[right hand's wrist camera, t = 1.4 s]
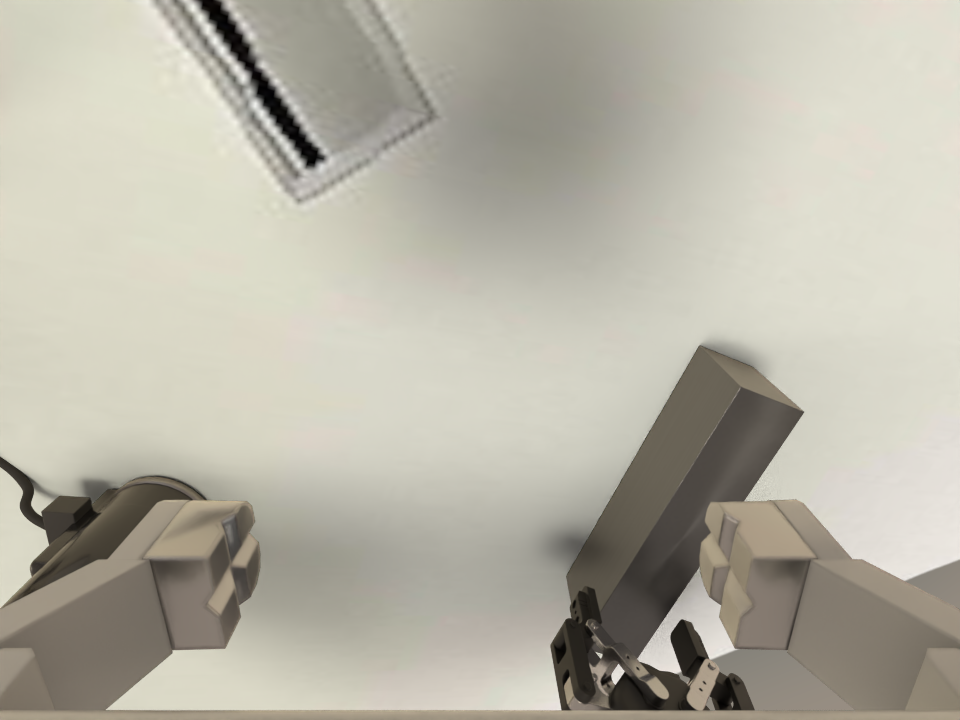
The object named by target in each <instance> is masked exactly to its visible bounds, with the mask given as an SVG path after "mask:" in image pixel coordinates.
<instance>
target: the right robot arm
mask: <svg viewBox="0 0 960 720" xmlns="http://www.w3.org/2000/svg"><path fill="white" fill-rule="evenodd" d="M254 523H255V518H254V513H253V508H252V505H251V504H249V503H248V502H247V501H213V500H192V501H190V500H164V501H160V502H157V503H156V505H155V506H154V507H153V508H152V509H151V510H150V511H149V512H148V514H147V515H146V516H145V517H144V518H143V519H142V520H141V522H140V523H139V524H138V525H137V526H136V527H135V528H134V530H133V531H132V532H131V533H130V534H129V535H128V536H127V538H126V539H125V540H124V541H123V542H122V543H121V544H120V546H119V547H118V548H117V549H116V550H115V551H114V552H113V553H112V555H111V556H110V557H109V558H108V559H104V560H96V561H94V562H92V563H90V564H88V565H86V566H84V567H82V568H80V569H78V570H76V571H74V572H72V573H70V574H68V575H66V576H64V577H63V578H61V579H59V580H57V581H55V582H53V583H51V584H49V585H47V586H45V587H43V588H41V589H39V590H37V591H35V592H33V593H31V594H29V595H27V596H25V597H23V598H21V599H19V600H17V601H15V602H13V603H11V604H9V605H7V606H5V607H3V608H1V609H0V720H960V609H958V608H956V607H954V606H952V605H951V604H948V603H947V602H945V601H943V600H941V599H939V598H937V597H935V596H933V595H931V594H929V593H927V592H925V591H923V590H921V589H919V588H917V587H915V586H913V585H911V584H909V583H907V582H905V581H903V580H901V579H899V578H897V577H895V576H893V575H891V574H889V573H888V572H886V571H884V570H882V569H880V568H878V567H876V566H874V565H872V564H870V563H868V562H866V561H864V560H856V559H852V558H851V557H850V556H849V555H848V554H847V552H846V551H845V550H844V549H843V548H842V547H841V546H840V544H839V543H838V542H837V541H836V540H835V539H834V538H833V536H832V535H831V534H830V533H829V532H828V531H827V530H826V528H825V527H824V526H823V525H822V524H821V523H820V522H819V520H818V519H817V518H816V517H815V516H814V515H813V514H812V513H811V511H810V510H809V509H808V508H807V507H806V506H805V505H804V503H802V502H800V501H798V500H768V501H742V502H710V504H709V506H708V508H707V512H706V517H705V523H706V525H707V526H708V528H709V530H710V532H711V533H710V534H709V535H708V536H707V537H706V538H705V539H704V540H703V541H702V542H701V548H700V556H699V561H700V573H701V577H702V581H703V584H704V587H705V589H706V591H707V593H708V595H709V597H710V598H712V599H713V600H714V601H716V602H717V603H719V604H720V605H721V609H720V614H719V618H720V620H721V622H722V624H723V626H724V628H725V630H726V632H727V634H728V636H729V638H730V640H731V642H732V644H733V646H734V648H735V649H766V650H788V652H787V653H788V654H790V655H791V656H792V657H793V658H794V659H795V660H797V661H798V662H799V663H800V664H801V665H803V666H804V667H805V668H806V669H807V670H808V671H810V672H811V673H812V674H813V675H814V676H816V677H817V678H818V679H819V680H820V681H821V682H823V683H824V684H825V685H826V686H827V687H828V688H830V689H831V690H832V691H833V692H834V693H836V694H837V695H838V696H839V697H840V698H841V699H843V700H844V701H845V702H846V703H847V704H849V705H850V706H851V707H852V708H853V709H854V710H769V711H768V710H714V711H711V710H696V711H575V710H169V711H162V710H106V709H107V708H108V707H109V706H110V705H112V704H113V703H114V702H115V701H116V700H117V699H119V698H120V697H121V696H122V695H123V694H125V693H126V692H127V691H128V690H129V689H131V688H132V687H133V686H134V685H135V684H136V683H138V682H139V681H140V680H141V679H142V678H144V677H145V676H146V675H147V674H148V673H149V672H151V671H152V670H153V669H154V668H155V667H157V666H158V665H159V664H160V663H161V662H162V661H164V660H165V659H166V658H167V657H168V656H170V655H171V654H172V650H194V649H225V648H226V646H227V644H228V642H229V640H230V638H231V636H232V634H233V632H234V630H235V628H236V626H237V624H238V622H239V620H240V618H241V615H240V609H239V605H240V604H241V603H243V602H244V601H246V600H247V599H248V598H250V597H251V595H252V593H253V591H254V589H255V587H256V584H257V581H258V576H259V571H260V547H259V542H258V541H257V540H256V539H255V538H254V537H253V536H252V535H251V534H250V533H249V532H250V530H251V528H252V526H253V525H254Z"/></svg>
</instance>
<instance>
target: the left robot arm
mask: <svg viewBox="0 0 960 720" xmlns="http://www.w3.org/2000/svg"><path fill="white" fill-rule="evenodd" d="M0 467H1V468H2V469H4V470H5V471H6V472H7V473H9V474H10V475H11V476H12V477H13V478H14V479H15V480H16V482H17V483H18V484H19V485H20V487H21V488H22V490H23V496H22V499H21V502H20V509H21V511H22V513H23V515H24V516H25V517H26V518H27V519H28V520H29V521H30V522H32V523H33V524H35V525H37V526H39V527H40V528H42V529H44V530H46V534H47V538H48V542H49V546H48V547H47V548H46V549H45V550H44V551H43V552H42V553H41V554H40V555H39V556H38V557H37V558H36V559H35V560H34V561H33V562H32V563H31V565H30V572H31V576H32V578H30V579H29V580H28V581H27V582H26V583H25V584H24V585H23V586H22V587H21V588H20V589H19V590H18V591H17V592H16V593H15V594H14V595H13V596H12V597H11V598H10V599H9V600H8V601H7V602H6V603H5V604H4V605H3V606H2V607H1V608H3V607H5V606H7V605H9V604H11V603H13V602H15V601H17V600H19V599H21V598H23V597H25V596H27V595H29V594H31V593H33V592H35V591H37V590H39V589H41V588H43V587H45V586H47V585H49V584H51V583H53V582H55V581H57V580H59V579H61V578H63V577H64V576H66V575H68V574H70V573H72V572H74V571H76V570H78V569H80V568H82V567H84V566H86V565H88V564H90V563H92V562H94V561H96V560H104V559H108V558H109V557H110V556H111V555H112V553H113V552H114V551H115V550H116V549H117V548H118V547H119V546H120V544H121V543H122V542H123V541H124V540H125V539H126V538H127V536H128V535H129V534H130V533H131V532H132V531H133V530H134V528H135V527H136V526H137V525H138V524H139V523H140V522H141V520H142V519H143V518H144V517H145V516H146V515H147V514H148V512H149V511H150V510H151V509H152V508H153V507H154V506H155V505H156V503H157V502H160V501H164V500H190V501H192V500H204V499H203V498H202V497H201V496H200V495H199V494H198V493H197V492H195V491H194V490H193V489H191V488H190V487H188V486H186V485H184V484H182V483H180V482H177V481H174V480H171V479H167V478H162V477H144V478H139V479H135V480H133V481H130V482H128V483H126V484H125V485H123V486H122V487H121V488H120V489H117V490H113V489H108V490H107V491H106V492H105V493H104V494H103V495H102V496H100V497H99V498H98V499H97V500H96V501H95V502H94V503H93V504H92V503H91V498H86V497H70V496H59V497H58V498H57V499H55V500H54V501H53V502H52V503H51V504H50V505H49V506H47V507H46V508H45V509H44V510H43V511H42V512H41V513H42V516H40V515H39V514H37V513H36V512H35V511H34V510H33V508H32V506H31V501H32V498H33V494H34V488H33V485H32V484H31V482H30V481H29V479H28V478H27V477H26V476H25V475H24V474H23V473H22V472H21V471H20V470H18V469H17V468H16V467H14V466H13V465H11V464H10V463H8V462H7V461H6V460H4V459H3V458H1V457H0ZM1 608H0V609H1ZM570 612H571V617H572V619H571V618H568V619H566V620H565V622H564V624H563V625H562V627H561V628H560V630H559V632H558V633H557V635H556V637H555V638H554V640H553V642H552V643H551V652H552V658H553V664H554V669H555V675H556V681H557V686H558V692H559V698H560V704H561V709H562V710H575V711H696V710H710V709H709V708H708V707H707V706H706V704H707V700H708V698H709V696H710V697H712V701H713V704H714V707H715V710H754V707H753V705H752V702H751V700H750V697H749V695H748V692H747V690H746V687H745V685H744V683H743V681H742V680H741V679H740V678H739V677H738V676H737V675H735V674H733V673H730V674H729V675H728V676H726V675H724V674H722V673H721V672H720V670H719V667H718V666H717V665H716V664H715V663H714V662H713V661H712V660H710V659H709V657H708V655H707V652H706V650H705V648H704V645H703V643H702V640H701V638H700V636H699V635H698V633H697V632H696V631H695V630H694V627H693V625H692V623H691V622H688V621H686V620H683V619H682V620H680V621H679V623H678V624H677V626H676V627H675V628H674V630H673V631H672V633H671V643H672V645H673V648H674V651H675V654H676V657H677V660H678V663H679V665H680V668H681V671H682V674H683V676H686V677H689V678H690V680H689V681H688V683H687V684H686V683H685V682H684V681H682V680H681V679H680V677H679V675H677V674H674V673H671V672H666V671H659V670H657V669H655V668H653V667H652V666H650V665H648V664H645V663H642V662H639V661H638V660H637V658H636V657H635V656H634V655H633V654H632V653H631V651H630V650H629V649H628V648H627V647H626V646H625V644H623V643H616V642H615V641H614V640H613V639H612V638H611V637H610V636H609V634H608V633H607V632H606V631H605V630H604V628H603V627H602V626H601V624H602V619H601V615H600V610H599V606H598V601H597V597H596V592H595V589H593V588H591V587H588V586H584V588H583V589H582V591H579V592H578V593H577V595H576V597H575V598H574V600H573V601H572V603H571V606H570ZM594 643H595V644H596V645H597V646H598V647H599V648H600V650H601V651H602V654H603V656H602V658H601V659H600V658H599V656H598V655H597V654H596V653H595V651H594V650H593V649H592V647H593V645H594ZM618 664H619V665H620V666H621V667H622V668H623V670H624V671H625V672H624V674H623V675H622V677H621V678H620V680H619V681H618V682H617V684H616V685H615V684H614V683H613V681H612V679H611V674H612V672H613V671H614V669H615V668H616V666H617V665H618ZM732 701H733V703H734V705H733V708H732V706H731V703H732Z"/></svg>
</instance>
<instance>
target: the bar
mask: <svg viewBox="0 0 960 720" xmlns="http://www.w3.org/2000/svg"><path fill="white" fill-rule="evenodd" d="M803 413H804V411H803V410H801V409H800V408H799V407H798V406H797V405H796V404H795V403H793V402H792V401H791V400H790V399H789V398H788V397H787V396H786V395H784V394H783V393H782V392H781V391H780V390H779V389H778V388H776V387H775V386H774V385H773V384H772V383H771V382H770V381H769V380H767V379H766V378H765V377H764V376H763V375H762V374H761V373H759V372H758V371H757V370H756V369H755V368H754V367H752V366H749V365H747V364H744V363H742V362H739V361H737V360H734V359H732V358H729V357H727V356H724V355H722V354H719V353H717V352H714V351H712V350H710V349H707V348H705V347H702V346H699V347H698V349H697V351H696V353H695V354H694V356H693V358H692V360H691V361H690V363H689V365H688V367H687V368H686V370H685V372H684V373H683V375H682V377H681V379H680V380H679V382H678V384H677V386H676V387H675V389H674V391H673V392H672V394H671V396H670V398H669V399H668V401H667V403H666V405H665V406H664V408H663V410H662V411H661V413H660V415H659V417H658V418H657V420H656V422H655V424H654V425H653V427H652V429H651V431H650V432H649V434H648V436H647V437H646V439H645V441H644V443H643V444H642V446H641V448H640V450H639V451H638V453H637V455H636V456H635V458H634V460H633V462H632V463H631V465H630V467H629V469H628V470H627V472H626V474H625V475H624V477H623V479H622V481H621V482H620V484H619V486H618V488H617V489H616V491H615V493H614V495H613V496H612V498H611V500H610V501H609V503H608V505H607V507H606V508H605V510H604V512H603V514H602V515H601V517H600V519H599V520H598V522H597V524H596V526H595V527H594V529H593V531H592V533H591V534H590V536H589V538H588V540H587V541H586V543H585V545H584V546H583V548H582V550H581V552H580V553H579V555H578V557H577V559H576V560H575V562H574V564H573V565H572V567H571V569H570V571H569V572H568V574H567V576H566V578H567V583H568V589H569V594H570V600H571V603H572V601H573V600H574V598H575V597H576V595H577V593H578V592H579V591H582V589H583V588H584V586H588V587H591V588H593V589H595V592H596V597H597V601H598V606H599V610H600V615H601V619H602V624H601V626H602V627H603V628H604V630H605V631H606V632H607V633H608V634H609V636H610V637H611V638H612V639H613V640H614V641H615V642H616V643H623V644H625V646H626V647H627V648H628V649H629V650H630V651H631V653H632V654H633V655H634V656H635V657H636V658H638V657H639V655H640V654H641V652H642V651H643V649H644V648H645V646H646V645H647V643H648V642H649V640H650V639H651V637H652V636H653V635H654V633H655V632H656V630H657V629H658V627H659V626H660V624H661V623H662V621H663V620H664V618H665V617H666V615H667V614H668V612H669V611H670V609H671V608H672V606H673V605H674V604H675V602H676V601H677V599H678V598H679V596H680V595H681V593H682V592H683V590H684V589H685V587H686V586H687V584H688V583H689V581H690V580H691V578H692V577H693V575H694V574H695V573H696V571H697V570H698V568H699V567H700V561H699V556H700V548H701V542H702V541H703V540H704V539H705V538H706V537H707V536H708V535H709V534H710V533H711V532H710V530H709V528H708V526H707V525H706V523H705V517H706V512H707V508H708V506H709V504H710V502H742V501H744V500H745V499H746V497H747V496H748V494H749V493H750V491H751V490H752V488H753V487H754V485H755V484H756V483H757V481H758V480H759V478H760V477H761V475H762V474H763V472H764V471H765V469H766V468H767V466H768V465H769V463H770V462H771V460H772V459H773V457H774V456H775V455H776V453H777V452H778V450H779V449H780V447H781V446H782V444H783V443H784V441H785V440H786V438H787V437H788V435H789V434H790V432H791V431H792V429H793V428H794V426H795V425H796V424H797V422H798V421H799V419H800V418H801V416H802V415H803ZM592 649H593V650H594V651H595V652H598V653H601V654H602V651H601V650H600V648H599V647H598V646H597V645H596V644H595V643H594V645H593V647H592Z"/></svg>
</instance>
